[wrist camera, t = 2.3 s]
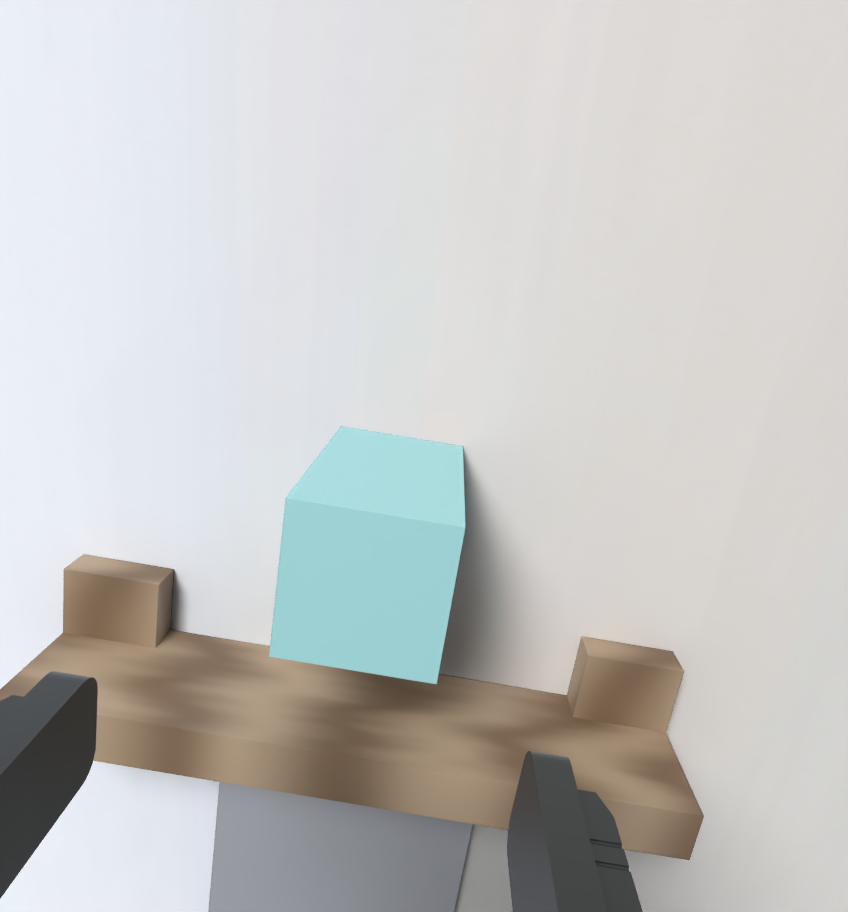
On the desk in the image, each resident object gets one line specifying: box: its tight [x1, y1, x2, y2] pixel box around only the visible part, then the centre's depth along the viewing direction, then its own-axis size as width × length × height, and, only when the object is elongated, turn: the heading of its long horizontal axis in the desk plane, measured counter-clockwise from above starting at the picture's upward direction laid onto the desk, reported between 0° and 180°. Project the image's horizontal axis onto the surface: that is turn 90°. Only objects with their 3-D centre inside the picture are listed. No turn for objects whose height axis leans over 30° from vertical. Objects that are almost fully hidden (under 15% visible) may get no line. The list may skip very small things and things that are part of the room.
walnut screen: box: [0, 554, 704, 860], centre depth 27 cm, size 26×8×6 cm, turn 81°
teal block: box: [269, 426, 465, 684], centre depth 23 cm, size 5×5×9 cm
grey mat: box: [209, 782, 473, 912], centre depth 32 cm, size 12×12×1 cm
